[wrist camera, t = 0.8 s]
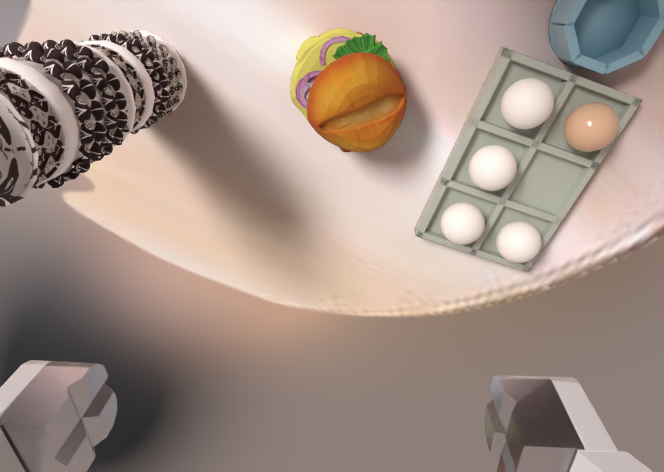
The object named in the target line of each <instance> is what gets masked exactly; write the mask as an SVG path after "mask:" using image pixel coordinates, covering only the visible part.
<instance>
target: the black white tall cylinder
mask: <svg viewBox="0 0 664 472" xmlns="http://www.w3.org/2000/svg"><path fill="white" fill-rule="evenodd" d="M14 55H16V57H15V58H13V59H12V56H14ZM186 88H187V77H186V71H185V66H184V64H183V62H182V60H181V59H180V57H179V55H178V53H177V51H176V50H175V49H174V48H173V47H172V46H171V45H170V44H169V43H168V42H166V41H165V40H164V39H163V38H162V37H160V36H157V35H155V34H153V33H150V32H148V31H138V30H135V31H127V32H125V31H120V32H119V33H117V32H111V34H110V35H108V34H101V35H100V36H98V35H92V36H91V37H90V38H89V41H81V42H72V41H71V40H67V39H66V40H62V41H61V42H55V41H53V40H47V41H46V42H44V43H43V44H42V45H41V44H40V43H38V42H28V43H26V45H25V46H23V45H21V44H20V43H17V42H13V43H11V44H7V45H5V46H4V47H3V48H2V47H0V206H7V205H10V204H12V203H14V202H16V201H18V200H20V199H22V198H25V197H26V195H27V194H28V192H29V191H30V189H31V188H32V187H33V188H43V187H44V186H45V183H48V184H49V185H51V186H52V188H58V187H60V186H62V185H63V184H64V182H65V181H68V180H70V179H75V178H77V177H78V175H79V174H80V173H84V172H87V171H88V170H89V168H90V163H92V162H94V161H99V160H101V159H102V158H103V157H104V155H109V154H111V153H112V150H113V146H115V145H121V144H122V142H123V141H124V139H125V138H126V137H127V135H128V134H129V133H132V134H136V133H137V132H138V131H139V130H140V129H144V128H149V127H150V126H151V124H154V123H156V122H157V121H158V120H162V119H164V118H165V117H166V116H168V115H170V114H171V113H172V111H174V110H176V108H177V107H178V106H179V105H180V103H181V102H182V101H183V99H184V97H185V93H186ZM73 165H74V166H75V167H74V168H72V167H73ZM55 177H56V178H55Z"/></svg>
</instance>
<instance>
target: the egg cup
mask: <svg viewBox="0 0 664 472" xmlns="http://www.w3.org/2000/svg"><path fill="white" fill-rule="evenodd" d="M663 29H664V0H557V1H556V3H555V5H554V7H553V9H552V13H551V16H550V20H549V29H548V30H549V40H550V43H551V46H552V48H553V50H554V52H555V53H556V55H557V56H558V57H559V58H560V59H561V60H562V61H564V62H565V63H567V64H569V65H571V66H575V67H578V68H586V69H589V70H592V71H595V72H598V73H601V74H609V73H611V72H613V71H615V70H618V69H620V68H622V67H624V66H627V65H629V64H631V63H633V62H636V61H638V60H640V59H642V58H644V56H647V54H648V52H649V51H650V49H651V48H652V46H653V45H654V43H655V41H656V40H657V38H658V37H659V35H660V34H661V32H662V31H663Z"/></svg>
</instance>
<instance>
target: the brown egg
mask: <svg viewBox="0 0 664 472" xmlns="http://www.w3.org/2000/svg"><path fill="white" fill-rule="evenodd" d="M618 129H619V119H618V116H617V114H616V112H615V111H614V110H613V109H612V108H611V107H610V106H608V105H606V104H603V103H599V102H590V103H585V104H582V105H580V106H578V107H577V108H575V109H574V110H573V111H572V112H571V113H570V114H569V115H568V116H567V118H566V120H565V122H564V126H563V134H564V137H565V139H566V141H567V143H568V144H569V145H570V146H571V147H573V148H574V149H576V150H579V151H584V152H592V151H597V150H600V149H602V148H604V147H606V146H607V145H608V144H609V143H611V142H612V140H613V139H614V138H615V136H616V135H617V132H618Z"/></svg>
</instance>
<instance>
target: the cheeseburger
mask: <svg viewBox="0 0 664 472" xmlns="http://www.w3.org/2000/svg"><path fill="white" fill-rule="evenodd" d="M375 36H376V35H373V36H372V35H370V34H367V33H366V34H364V35H363V34H362V33H359V32H354V31H352V30H348V29H343V28H337V29H333V30H329V31H327V32H325V33H323V34H321V35H319V36H318V37H317V36H313V37H310V38H308V39H307V40H306V41H305V42H304V43H302V45H301V47H300V49H299V50H298V52H297V57H296V59H297V63H296V66H295V69H294V71H293V74H292V78H291V85H290V95H291V99H292V102H293V103H294V104H295V105H296V106H297V108H298V109H299V110H300V111H301V112H302V113H303V115H304V116H305V117H306V119H307V120H308V122H309V123H310V124H311V126H312V127H313V128H314V130H315V131H316V132H317V133H318V134H319V135H320V136H322V137H323V138H324V139H325V140H327V141H329V142H330V143H332V144H334V145H336V146H338V147H339V148H340V149H341V150H342V151H343V152H351V151H355V152H369V151H374V150H376V149H378V148H380V147H382V146H383V145H384V144H385V143H386V142H387V141H388V140H389V139H390V138H391V137H392V136H393V134H394V133H395V131H396V130H397V129H398V127H399V125H400V123H401V122H402V120H403V117H404V114H405V111H406V104H407V98H406V88H405V85H404V83H403V81H402V79H401V77H400V75H399V73H398V72H397V71H396V68H395V65H394V63H393V61H392V59H391V57H390V56H389V55H388V52H387V48H386V47H385V46H384V45H383V44H382V41H381V42H378V41H375Z"/></svg>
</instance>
